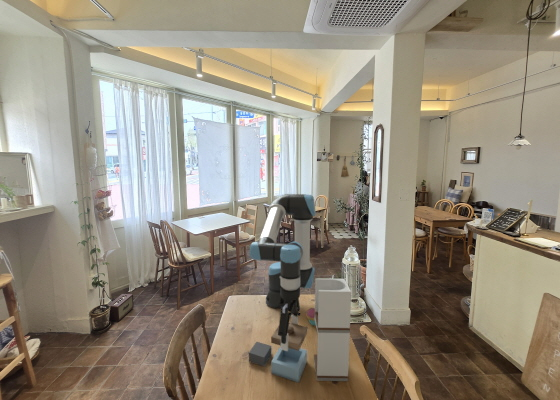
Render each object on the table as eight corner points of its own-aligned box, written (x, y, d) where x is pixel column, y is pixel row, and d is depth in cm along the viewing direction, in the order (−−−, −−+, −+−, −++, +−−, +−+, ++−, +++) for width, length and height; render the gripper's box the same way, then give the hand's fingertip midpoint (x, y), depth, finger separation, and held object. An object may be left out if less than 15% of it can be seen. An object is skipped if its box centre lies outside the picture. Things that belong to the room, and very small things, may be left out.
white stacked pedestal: (341, 359, 102) (344, 278, 98) (347, 381, 91) (351, 291, 87) (313, 358, 102) (315, 278, 98) (317, 380, 92) (319, 291, 88)
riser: (256, 350, 107) (256, 341, 107) (271, 354, 104) (271, 345, 104) (248, 361, 101) (248, 352, 100) (264, 366, 98) (264, 357, 98)
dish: (281, 353, 105) (281, 343, 104) (306, 361, 101) (307, 350, 100) (271, 373, 95) (271, 361, 94) (298, 382, 91) (298, 370, 90)
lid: (281, 326, 103) (281, 317, 103) (307, 332, 99) (307, 323, 99) (271, 342, 93) (271, 333, 93) (298, 350, 89) (299, 341, 89)
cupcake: (309, 316, 132) (309, 295, 131) (324, 320, 128) (325, 298, 127) (303, 325, 124) (304, 302, 123) (320, 330, 121) (320, 307, 119)
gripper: (291, 273, 106) (290, 321, 108) (268, 298, 84) (268, 357, 87) (308, 275, 103) (307, 325, 106) (288, 303, 82) (288, 364, 84)
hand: (289, 339), depth 96 cm, fingers closed on lid, 11 cm apart
